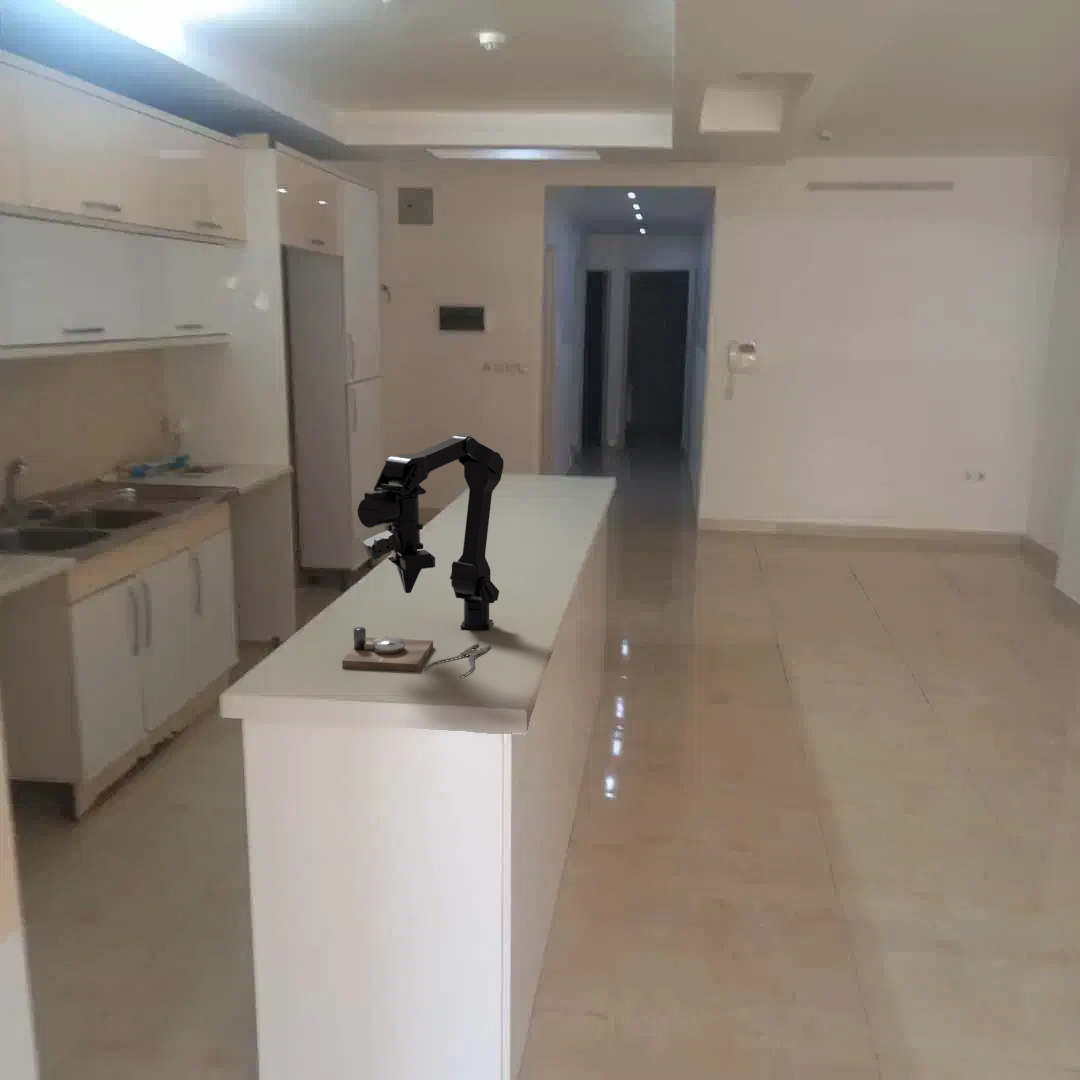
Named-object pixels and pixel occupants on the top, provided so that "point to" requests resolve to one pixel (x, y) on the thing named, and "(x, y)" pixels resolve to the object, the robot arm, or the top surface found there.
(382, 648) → the crank handle
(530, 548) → the top surface
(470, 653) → the pliers
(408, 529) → the robot arm
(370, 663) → the dial plate
